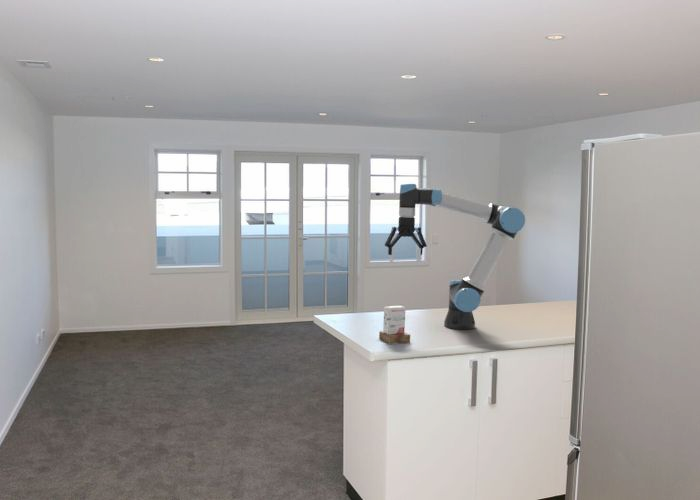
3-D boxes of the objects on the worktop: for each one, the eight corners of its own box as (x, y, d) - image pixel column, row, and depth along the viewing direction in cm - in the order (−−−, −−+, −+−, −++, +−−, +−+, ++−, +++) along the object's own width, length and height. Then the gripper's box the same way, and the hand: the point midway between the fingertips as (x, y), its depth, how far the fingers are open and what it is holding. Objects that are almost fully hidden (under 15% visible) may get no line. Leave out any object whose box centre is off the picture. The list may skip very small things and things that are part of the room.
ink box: (399, 330, 303) (400, 304, 302) (405, 333, 299) (406, 306, 298) (382, 332, 299) (383, 306, 298) (388, 334, 295) (389, 308, 294)
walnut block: (398, 338, 306) (399, 329, 305) (409, 343, 297) (410, 334, 296) (379, 340, 302) (379, 331, 301) (389, 345, 293) (390, 336, 292)
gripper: (428, 216, 322) (426, 260, 325) (379, 215, 315) (377, 260, 317) (434, 217, 315) (432, 262, 317) (384, 216, 308) (382, 262, 310)
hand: (405, 261), depth 317 cm, fingers open, 13 cm apart
